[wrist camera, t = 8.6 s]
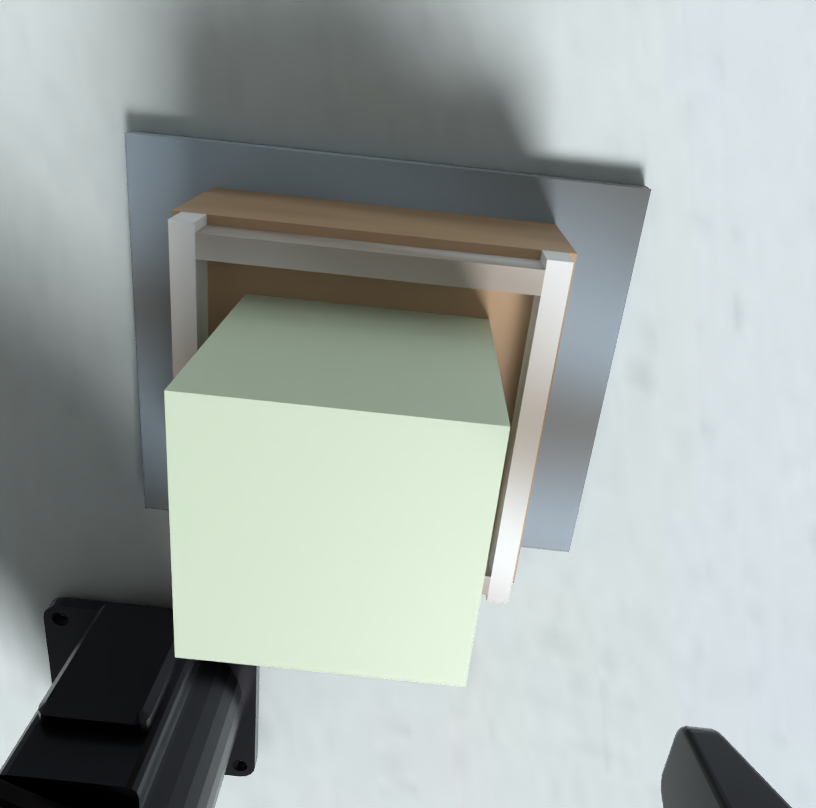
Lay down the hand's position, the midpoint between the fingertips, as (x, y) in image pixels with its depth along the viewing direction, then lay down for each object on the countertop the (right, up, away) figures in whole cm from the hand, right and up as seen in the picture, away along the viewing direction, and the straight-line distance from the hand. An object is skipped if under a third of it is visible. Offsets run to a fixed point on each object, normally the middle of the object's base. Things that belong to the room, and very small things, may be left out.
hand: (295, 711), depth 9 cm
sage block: (0, +3, +8) cm, 8 cm away
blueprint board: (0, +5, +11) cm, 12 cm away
